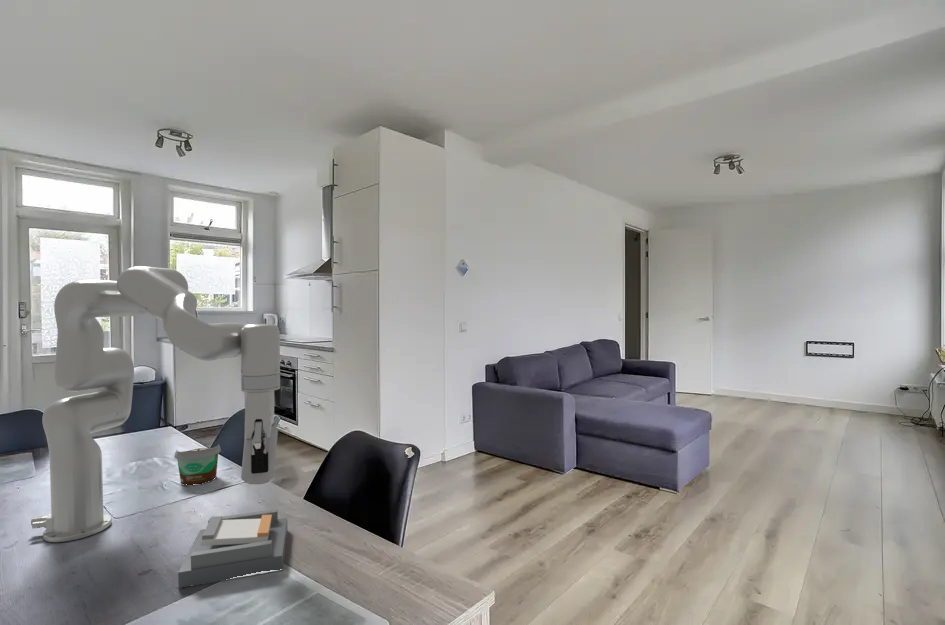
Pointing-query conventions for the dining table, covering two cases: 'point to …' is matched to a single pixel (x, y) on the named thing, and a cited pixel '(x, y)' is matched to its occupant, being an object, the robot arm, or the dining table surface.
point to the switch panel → (235, 554)
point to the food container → (197, 465)
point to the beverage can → (271, 449)
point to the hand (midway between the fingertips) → (261, 466)
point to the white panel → (236, 531)
